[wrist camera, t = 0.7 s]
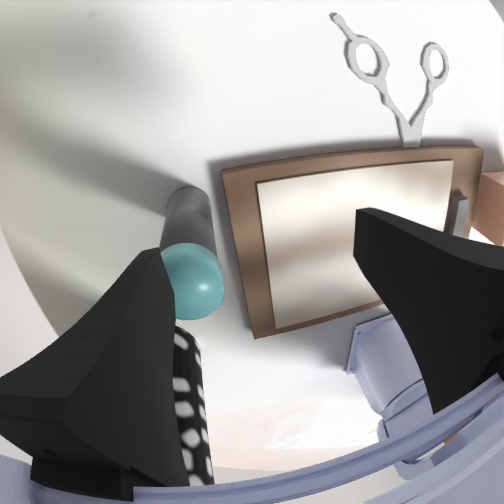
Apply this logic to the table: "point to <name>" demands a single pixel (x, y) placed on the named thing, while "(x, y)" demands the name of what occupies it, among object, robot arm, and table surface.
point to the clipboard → (335, 223)
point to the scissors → (407, 131)
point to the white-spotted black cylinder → (191, 408)
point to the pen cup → (490, 207)
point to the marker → (191, 254)
